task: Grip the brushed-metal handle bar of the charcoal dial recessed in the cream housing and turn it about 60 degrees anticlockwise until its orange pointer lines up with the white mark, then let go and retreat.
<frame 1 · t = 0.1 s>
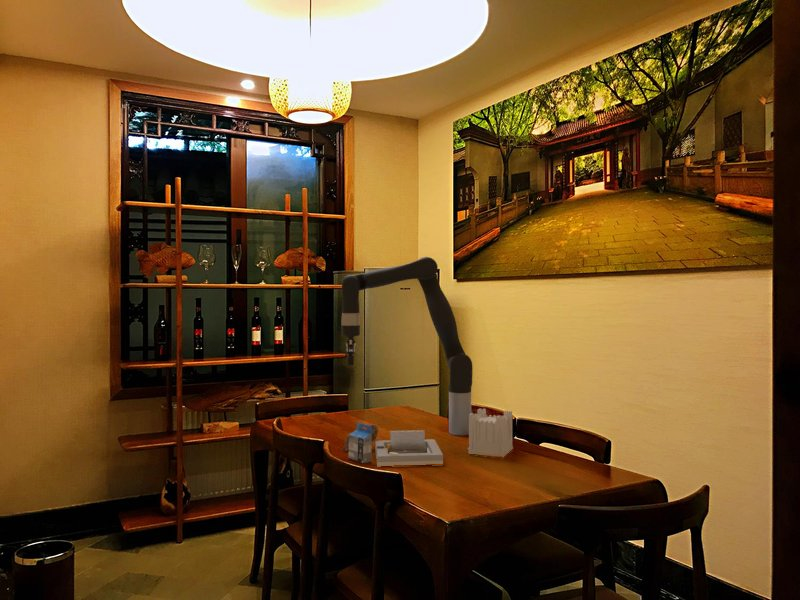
hand: (350, 364, 244), 29 cm above the table, tool pointing down, fingers open, 8 cm apart
housing: (407, 457, 211), on the table
label tape box: (360, 460, 208), on the table
dial: (407, 441, 211), point 5 cm above the table, hinge at 0.0°
lion figurine: (361, 450, 222), on the table
castle model: (488, 452, 218), on the table
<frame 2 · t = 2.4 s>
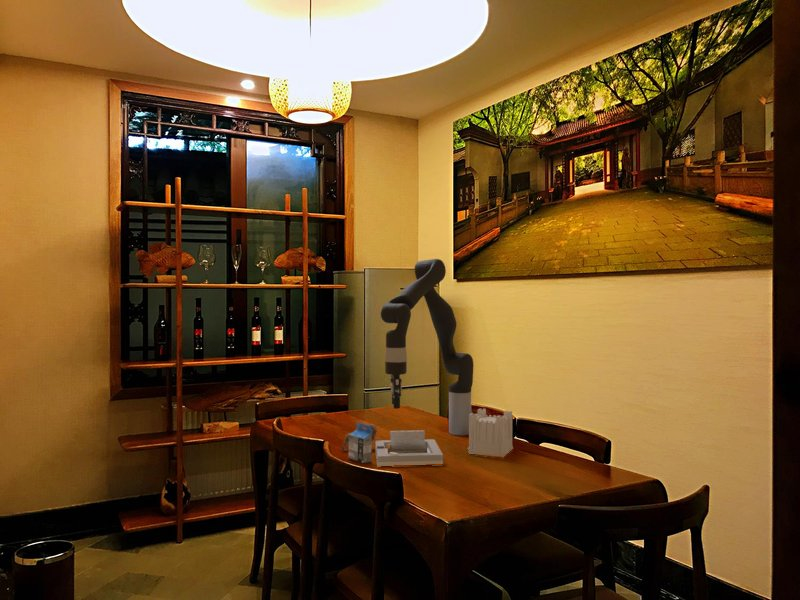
hand: (395, 406, 211), 18 cm above the table, tool pointing down, fingers open, 8 cm apart
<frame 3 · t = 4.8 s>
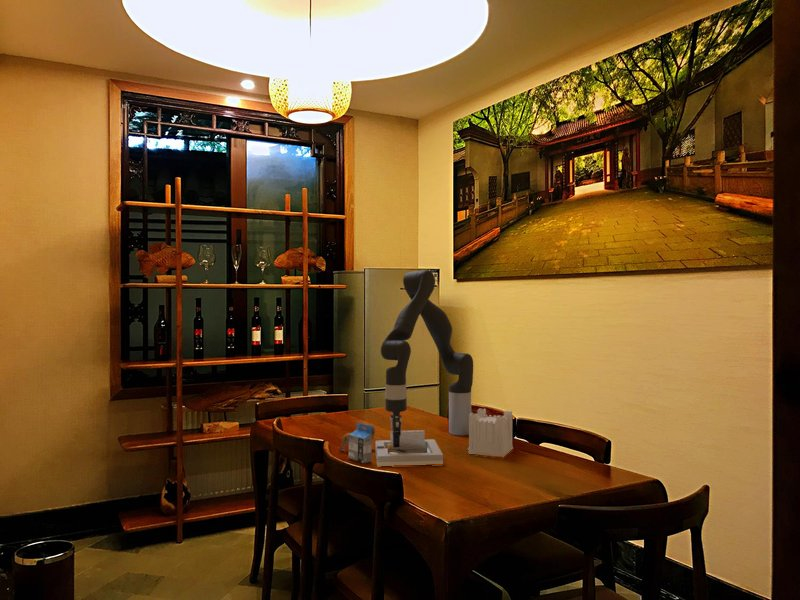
hand: (396, 445, 211), 4 cm above the table, tool pointing down, fingers closed on dial, 2 cm apart
dial: (407, 441, 211), point 5 cm above the table, hinge at 0.0°, touching gripper
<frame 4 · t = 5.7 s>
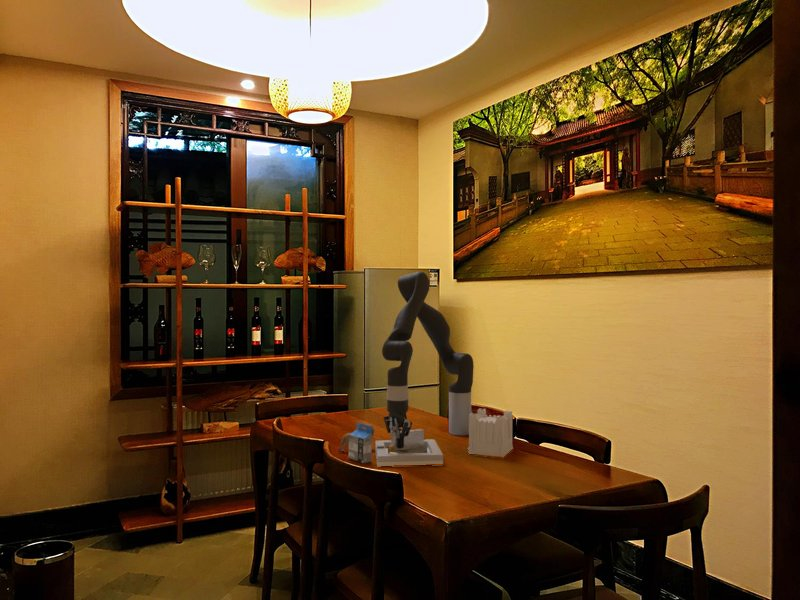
hand: (397, 446, 209), 4 cm above the table, tool pointing down, fingers closed on dial, 2 cm apart
dial: (407, 441, 211), point 5 cm above the table, hinge at 22.1°, touching gripper
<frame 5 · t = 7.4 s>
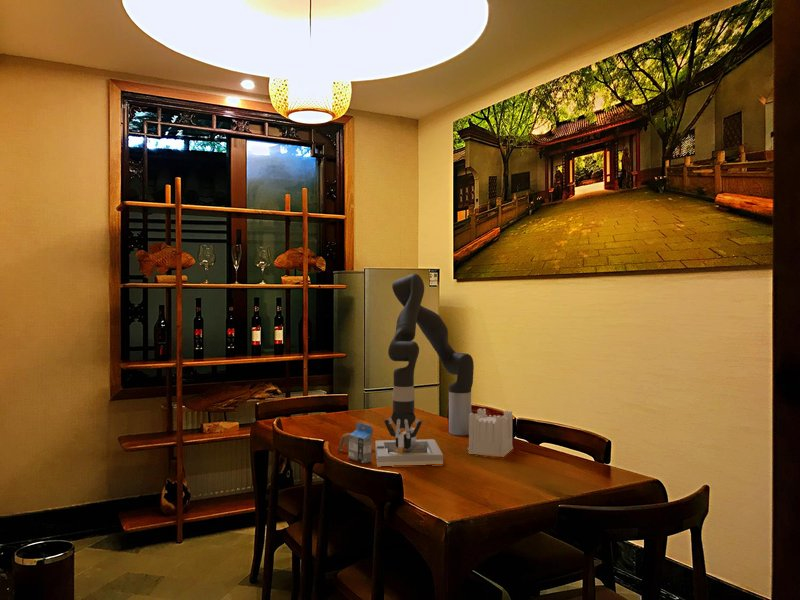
hand: (403, 448, 208), 4 cm above the table, tool pointing down, fingers closed on dial, 2 cm apart
dial: (407, 441, 211), point 5 cm above the table, hinge at 63.2°, touching gripper
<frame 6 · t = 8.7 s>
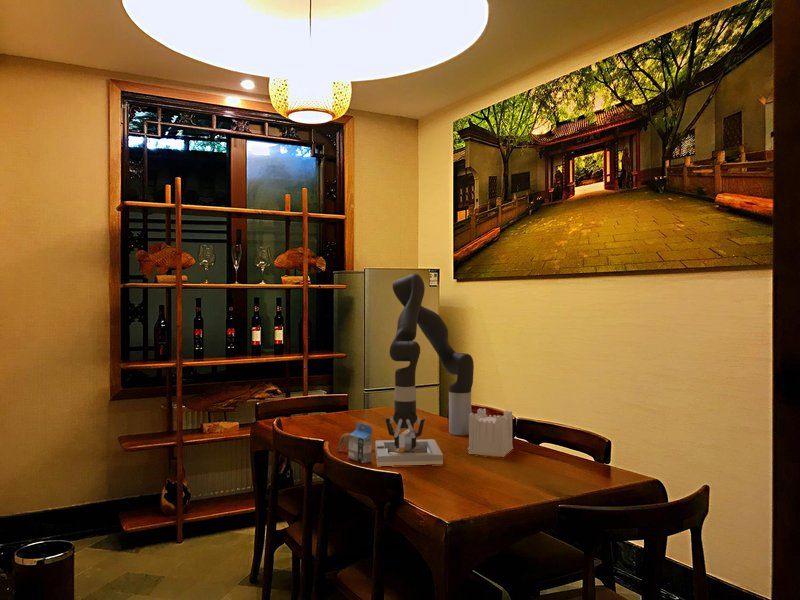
hand: (405, 447, 207), 4 cm above the table, tool pointing down, fingers open, 4 cm apart
dial: (407, 441, 211), point 5 cm above the table, hinge at 66.7°
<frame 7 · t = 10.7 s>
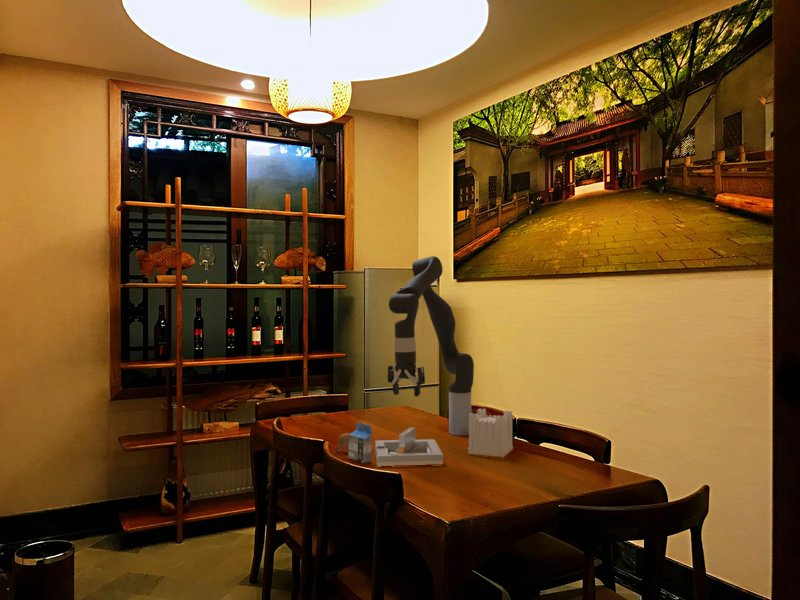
hand: (406, 395, 213), 21 cm above the table, tool pointing down, fingers open, 8 cm apart
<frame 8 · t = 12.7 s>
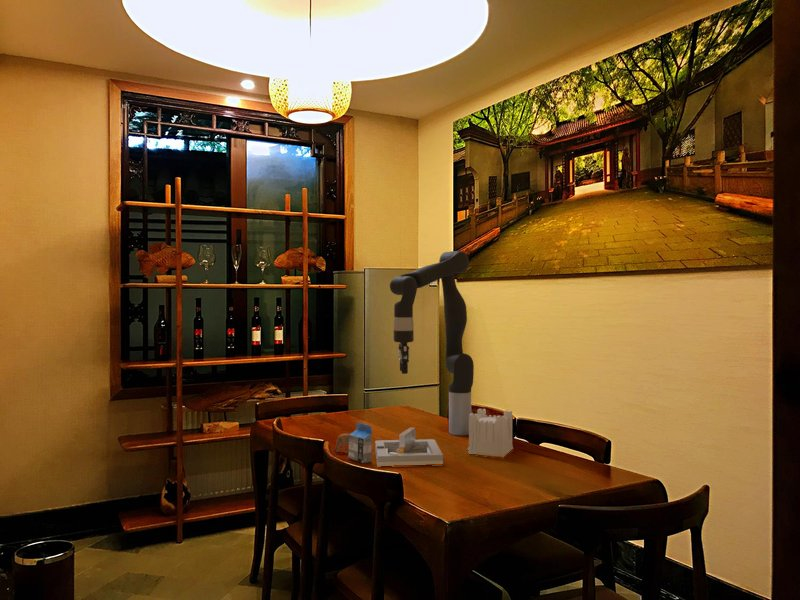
hand: (403, 372, 226), 28 cm above the table, tool pointing down, fingers open, 8 cm apart
at the end: dial at +67° (first picture: +0°); the gripper is holding nothing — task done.
